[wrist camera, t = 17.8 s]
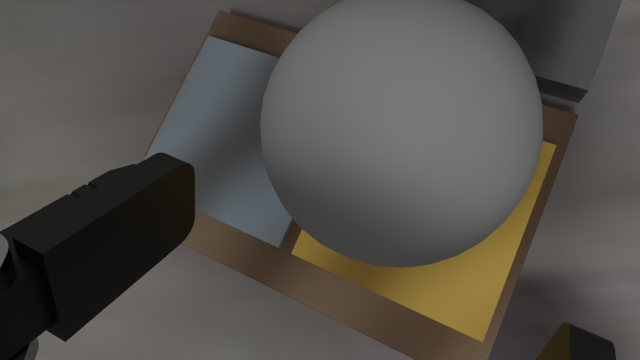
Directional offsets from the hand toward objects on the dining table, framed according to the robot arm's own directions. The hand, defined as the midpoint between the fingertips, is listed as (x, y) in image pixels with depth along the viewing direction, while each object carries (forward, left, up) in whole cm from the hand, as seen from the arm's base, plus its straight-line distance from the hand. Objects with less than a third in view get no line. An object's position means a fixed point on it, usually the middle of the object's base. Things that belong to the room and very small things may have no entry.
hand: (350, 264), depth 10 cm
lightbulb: (0, +3, -9) cm, 9 cm away
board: (-4, +3, -10) cm, 11 cm away
